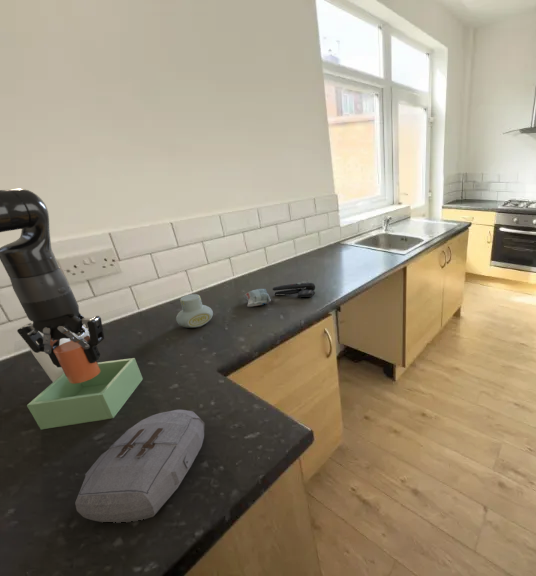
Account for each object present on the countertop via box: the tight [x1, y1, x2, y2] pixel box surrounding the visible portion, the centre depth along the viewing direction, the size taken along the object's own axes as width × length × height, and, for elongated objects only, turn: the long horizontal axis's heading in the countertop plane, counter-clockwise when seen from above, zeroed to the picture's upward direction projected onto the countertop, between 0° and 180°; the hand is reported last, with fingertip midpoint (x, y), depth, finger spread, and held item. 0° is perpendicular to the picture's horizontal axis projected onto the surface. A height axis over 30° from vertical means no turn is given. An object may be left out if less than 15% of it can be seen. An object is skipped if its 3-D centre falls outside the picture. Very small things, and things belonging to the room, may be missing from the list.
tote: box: [26, 357, 144, 430], centre depth 73 cm, size 14×14×7 cm
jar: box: [53, 339, 101, 384], centre depth 70 cm, size 6×6×8 cm
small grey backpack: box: [74, 409, 206, 524], centre depth 56 cm, size 15×8×20 cm
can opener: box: [272, 281, 316, 298], centre depth 128 cm, size 18×7×6 cm, turn 84°
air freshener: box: [175, 293, 214, 329], centre depth 107 cm, size 11×8×10 cm
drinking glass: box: [27, 332, 72, 383], centre depth 78 cm, size 7×7×15 cm
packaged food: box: [243, 288, 272, 308], centre depth 123 cm, size 9×12×5 cm
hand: (78, 362), depth 70 cm, fingers closed on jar, 5 cm apart
